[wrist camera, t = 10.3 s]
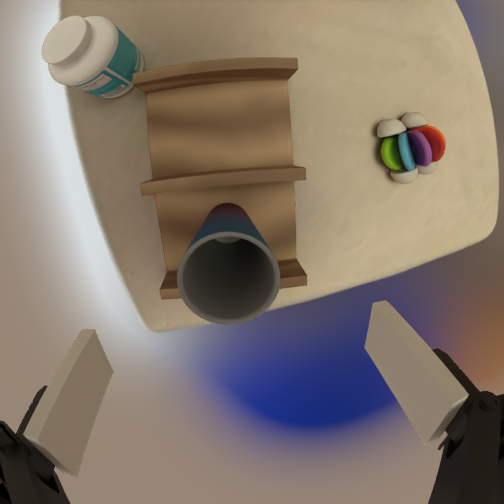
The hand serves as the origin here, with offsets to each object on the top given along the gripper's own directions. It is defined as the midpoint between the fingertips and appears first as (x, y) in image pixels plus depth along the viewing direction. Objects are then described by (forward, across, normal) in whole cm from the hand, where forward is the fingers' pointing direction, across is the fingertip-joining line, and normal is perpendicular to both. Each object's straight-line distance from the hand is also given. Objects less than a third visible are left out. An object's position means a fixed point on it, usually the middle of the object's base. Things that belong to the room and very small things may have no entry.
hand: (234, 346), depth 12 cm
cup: (+22, 0, 0) cm, 22 cm away
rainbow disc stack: (+23, +24, +9) cm, 34 cm away
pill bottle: (+23, -12, +21) cm, 33 cm away
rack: (+23, 0, +6) cm, 23 cm away
